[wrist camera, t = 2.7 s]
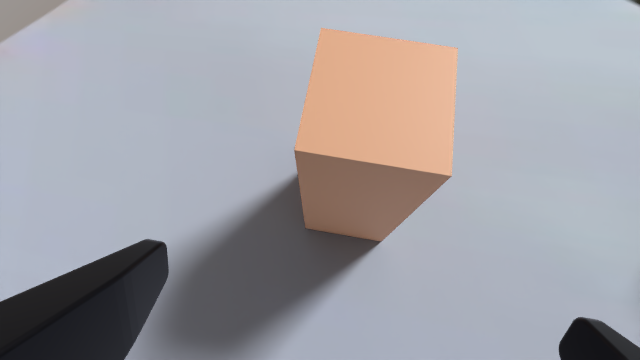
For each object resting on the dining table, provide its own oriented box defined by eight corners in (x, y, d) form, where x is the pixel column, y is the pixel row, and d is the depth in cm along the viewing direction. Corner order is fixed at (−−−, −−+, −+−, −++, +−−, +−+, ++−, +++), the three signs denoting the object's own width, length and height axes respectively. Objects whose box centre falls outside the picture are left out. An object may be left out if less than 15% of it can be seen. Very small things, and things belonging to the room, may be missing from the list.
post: (381, 241, 20) (451, 176, 10) (305, 228, 20) (294, 150, 10) (389, 170, 22) (458, 48, 11) (318, 158, 22) (321, 27, 11)
